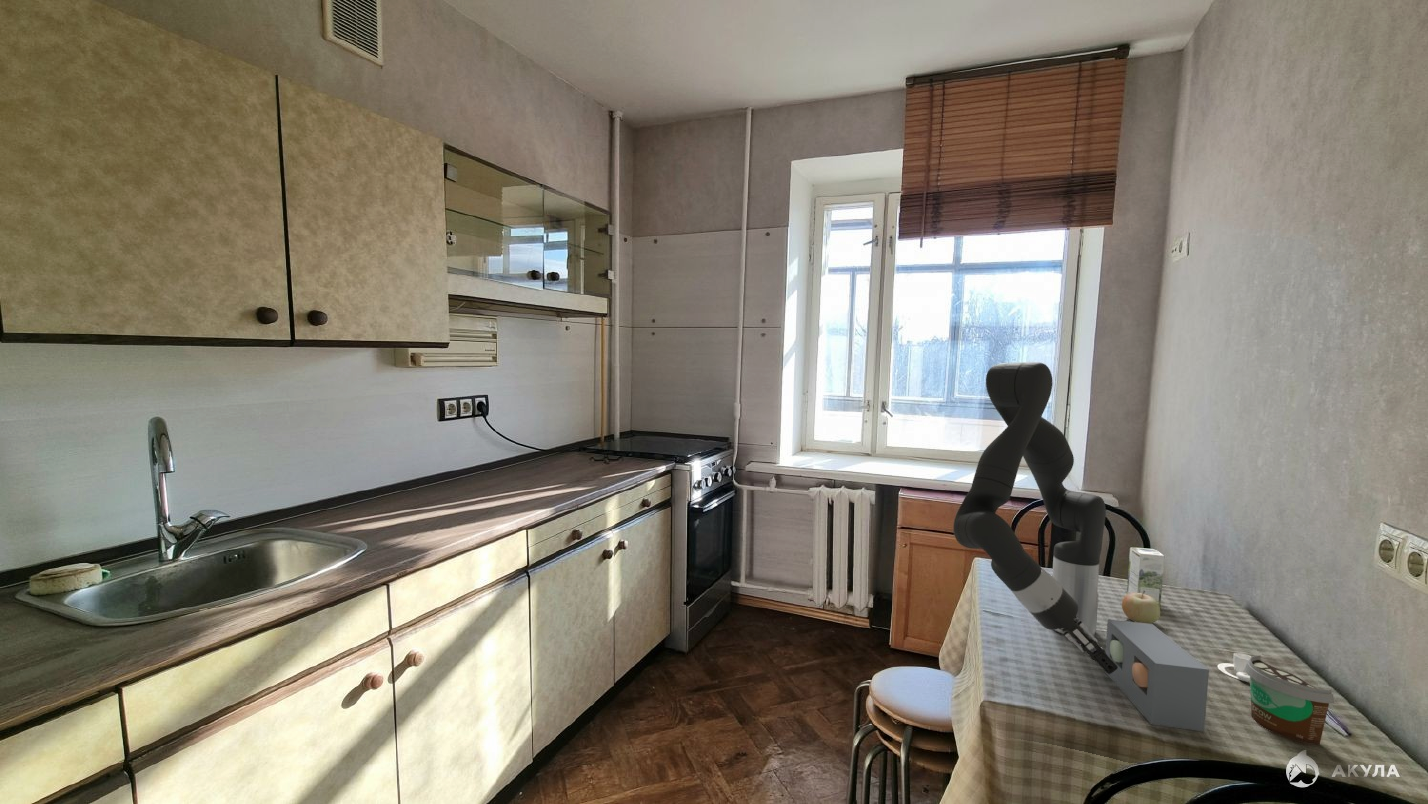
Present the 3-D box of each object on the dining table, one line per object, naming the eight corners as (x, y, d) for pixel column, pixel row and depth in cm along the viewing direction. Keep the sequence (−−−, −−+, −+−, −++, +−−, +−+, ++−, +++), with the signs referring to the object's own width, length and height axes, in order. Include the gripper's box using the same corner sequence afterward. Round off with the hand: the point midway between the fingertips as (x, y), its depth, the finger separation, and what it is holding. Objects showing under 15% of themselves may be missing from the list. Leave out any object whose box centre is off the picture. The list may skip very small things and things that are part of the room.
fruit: (1147, 616, 144) (1149, 585, 143) (1165, 629, 137) (1167, 597, 136) (1114, 613, 145) (1116, 583, 145) (1130, 626, 138) (1132, 594, 137)
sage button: (1118, 665, 110) (1120, 645, 110) (1109, 655, 114) (1110, 636, 113) (1142, 668, 109) (1143, 648, 109) (1131, 658, 113) (1133, 638, 113)
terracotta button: (1142, 690, 101) (1144, 669, 101) (1131, 679, 105) (1132, 658, 105) (1168, 694, 100) (1169, 672, 100) (1155, 682, 104) (1157, 661, 104)
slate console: (1151, 724, 99) (1155, 663, 98) (1104, 671, 116) (1107, 619, 116) (1204, 731, 97) (1209, 669, 96) (1148, 676, 115) (1152, 623, 114)
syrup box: (1149, 599, 155) (1153, 548, 154) (1161, 608, 149) (1165, 554, 148) (1125, 597, 156) (1129, 546, 155) (1136, 606, 150) (1140, 552, 149)
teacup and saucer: (1261, 691, 111) (1262, 671, 111) (1209, 672, 118) (1211, 653, 117) (1275, 679, 116) (1277, 660, 115) (1225, 661, 122) (1226, 643, 122)
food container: (1222, 706, 105) (1226, 654, 104) (1252, 705, 105) (1257, 653, 105) (1296, 751, 92) (1301, 692, 92) (1330, 749, 93) (1335, 691, 92)
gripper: (1074, 598, 98) (1149, 676, 96) (1046, 572, 111) (1111, 640, 109) (1039, 623, 100) (1112, 701, 98) (1015, 595, 113) (1079, 663, 111)
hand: (1111, 669), depth 104 cm, fingers closed
